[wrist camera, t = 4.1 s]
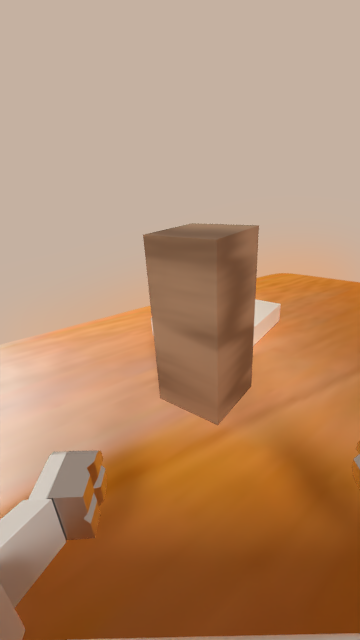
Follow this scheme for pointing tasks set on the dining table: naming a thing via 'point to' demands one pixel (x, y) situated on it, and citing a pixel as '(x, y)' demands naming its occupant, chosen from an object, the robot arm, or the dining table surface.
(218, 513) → the dining table surface
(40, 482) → the robot arm
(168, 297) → the walnut block
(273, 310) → the off-white board
